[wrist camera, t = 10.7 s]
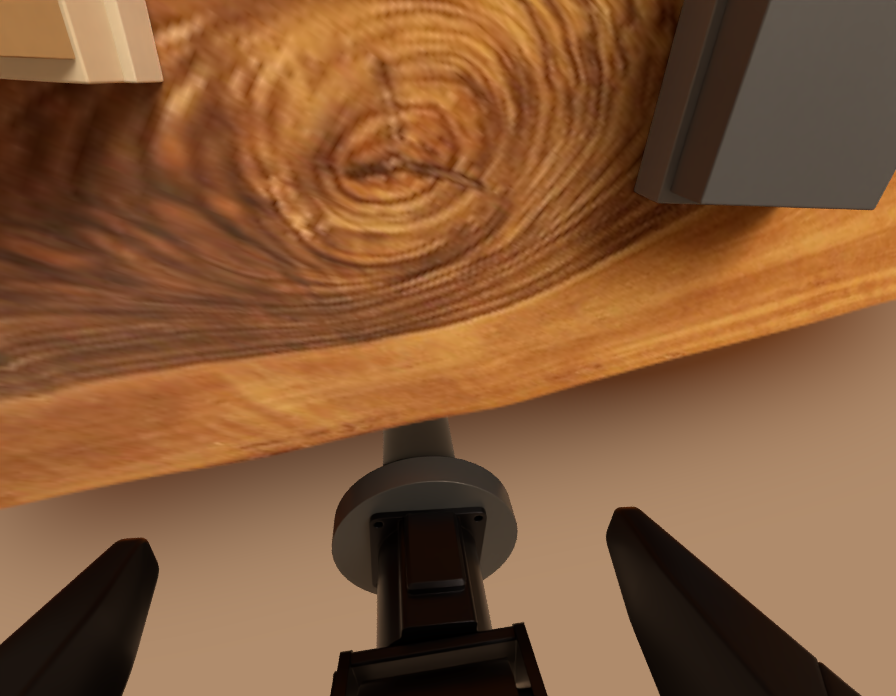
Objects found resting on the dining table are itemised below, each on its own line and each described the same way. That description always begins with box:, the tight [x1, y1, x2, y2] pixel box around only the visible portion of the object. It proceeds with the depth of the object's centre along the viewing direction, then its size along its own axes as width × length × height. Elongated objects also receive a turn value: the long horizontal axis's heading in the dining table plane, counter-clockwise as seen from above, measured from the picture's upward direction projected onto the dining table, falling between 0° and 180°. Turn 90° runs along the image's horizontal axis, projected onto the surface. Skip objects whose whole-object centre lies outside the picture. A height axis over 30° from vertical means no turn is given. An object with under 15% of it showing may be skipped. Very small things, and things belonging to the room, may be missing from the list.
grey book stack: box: [634, 0, 896, 210], centre depth 15 cm, size 10×8×4 cm
